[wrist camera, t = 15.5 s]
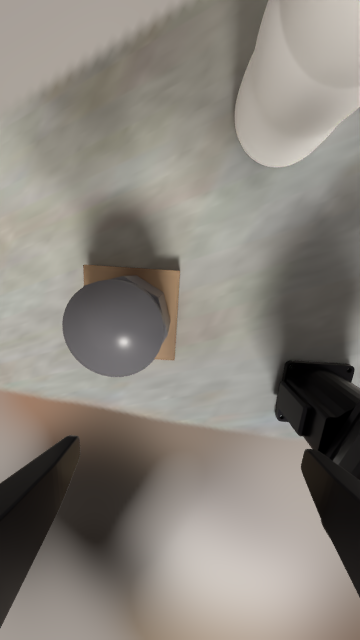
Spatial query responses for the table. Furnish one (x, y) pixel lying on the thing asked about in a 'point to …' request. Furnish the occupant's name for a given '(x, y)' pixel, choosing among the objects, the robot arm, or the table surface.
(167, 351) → the stud block
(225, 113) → the table surface
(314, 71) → the water bottle
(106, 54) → the table surface
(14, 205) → the table surface
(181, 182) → the table surface
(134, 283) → the cap
